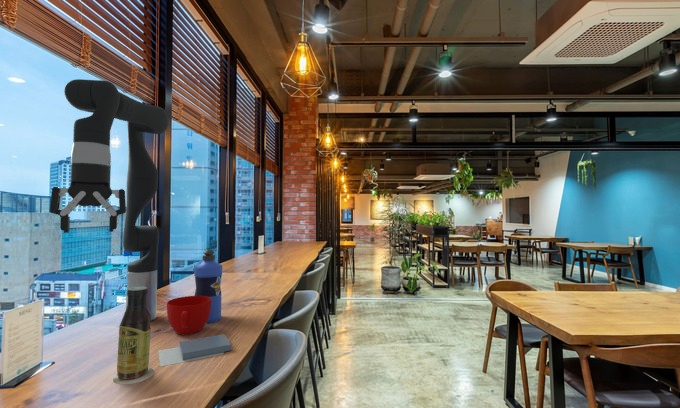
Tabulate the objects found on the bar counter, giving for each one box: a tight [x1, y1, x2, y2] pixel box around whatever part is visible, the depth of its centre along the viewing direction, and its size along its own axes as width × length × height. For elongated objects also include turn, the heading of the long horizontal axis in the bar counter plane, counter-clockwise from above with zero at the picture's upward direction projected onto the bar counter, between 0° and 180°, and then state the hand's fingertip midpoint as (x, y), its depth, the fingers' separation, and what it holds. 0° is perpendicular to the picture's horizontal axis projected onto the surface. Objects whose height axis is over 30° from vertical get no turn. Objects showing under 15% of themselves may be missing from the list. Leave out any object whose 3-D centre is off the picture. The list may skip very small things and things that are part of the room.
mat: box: [158, 346, 225, 368], centre depth 90 cm, size 15×11×1 cm
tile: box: [178, 333, 232, 360], centre depth 92 cm, size 2×9×12 cm
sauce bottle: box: [116, 287, 152, 380], centre depth 77 cm, size 7×6×20 cm
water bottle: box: [194, 248, 223, 324], centre depth 120 cm, size 9×9×25 cm
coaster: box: [112, 366, 155, 385], centre depth 77 cm, size 8×8×1 cm
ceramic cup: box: [166, 295, 211, 336], centre depth 105 cm, size 13×17×10 cm
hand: (89, 232), depth 79 cm, fingers open, 8 cm apart
